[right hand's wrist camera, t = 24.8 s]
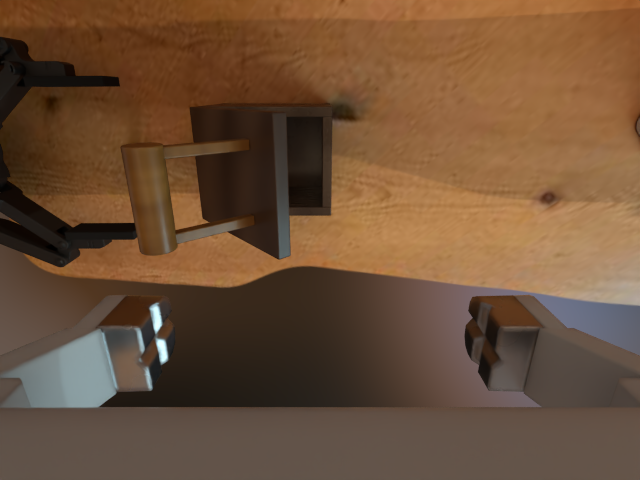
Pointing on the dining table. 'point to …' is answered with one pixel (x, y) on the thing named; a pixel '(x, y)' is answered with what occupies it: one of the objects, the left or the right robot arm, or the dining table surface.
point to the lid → (217, 181)
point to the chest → (304, 154)
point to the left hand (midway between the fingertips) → (127, 161)
